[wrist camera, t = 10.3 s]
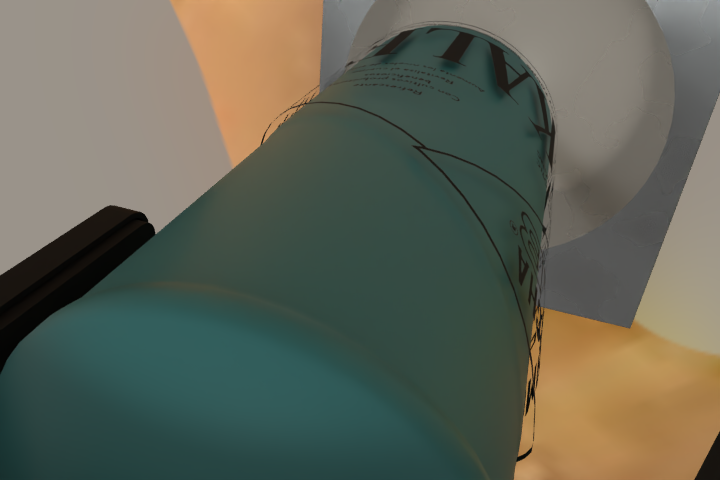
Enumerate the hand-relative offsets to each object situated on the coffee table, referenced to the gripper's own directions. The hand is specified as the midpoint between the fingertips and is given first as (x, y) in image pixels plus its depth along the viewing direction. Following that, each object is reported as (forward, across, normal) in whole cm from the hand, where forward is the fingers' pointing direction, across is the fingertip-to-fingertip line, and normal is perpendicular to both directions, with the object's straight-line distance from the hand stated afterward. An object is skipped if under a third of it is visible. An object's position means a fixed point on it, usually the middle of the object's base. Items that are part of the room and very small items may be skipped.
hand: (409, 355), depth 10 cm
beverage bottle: (+12, +2, 0) cm, 12 cm away
